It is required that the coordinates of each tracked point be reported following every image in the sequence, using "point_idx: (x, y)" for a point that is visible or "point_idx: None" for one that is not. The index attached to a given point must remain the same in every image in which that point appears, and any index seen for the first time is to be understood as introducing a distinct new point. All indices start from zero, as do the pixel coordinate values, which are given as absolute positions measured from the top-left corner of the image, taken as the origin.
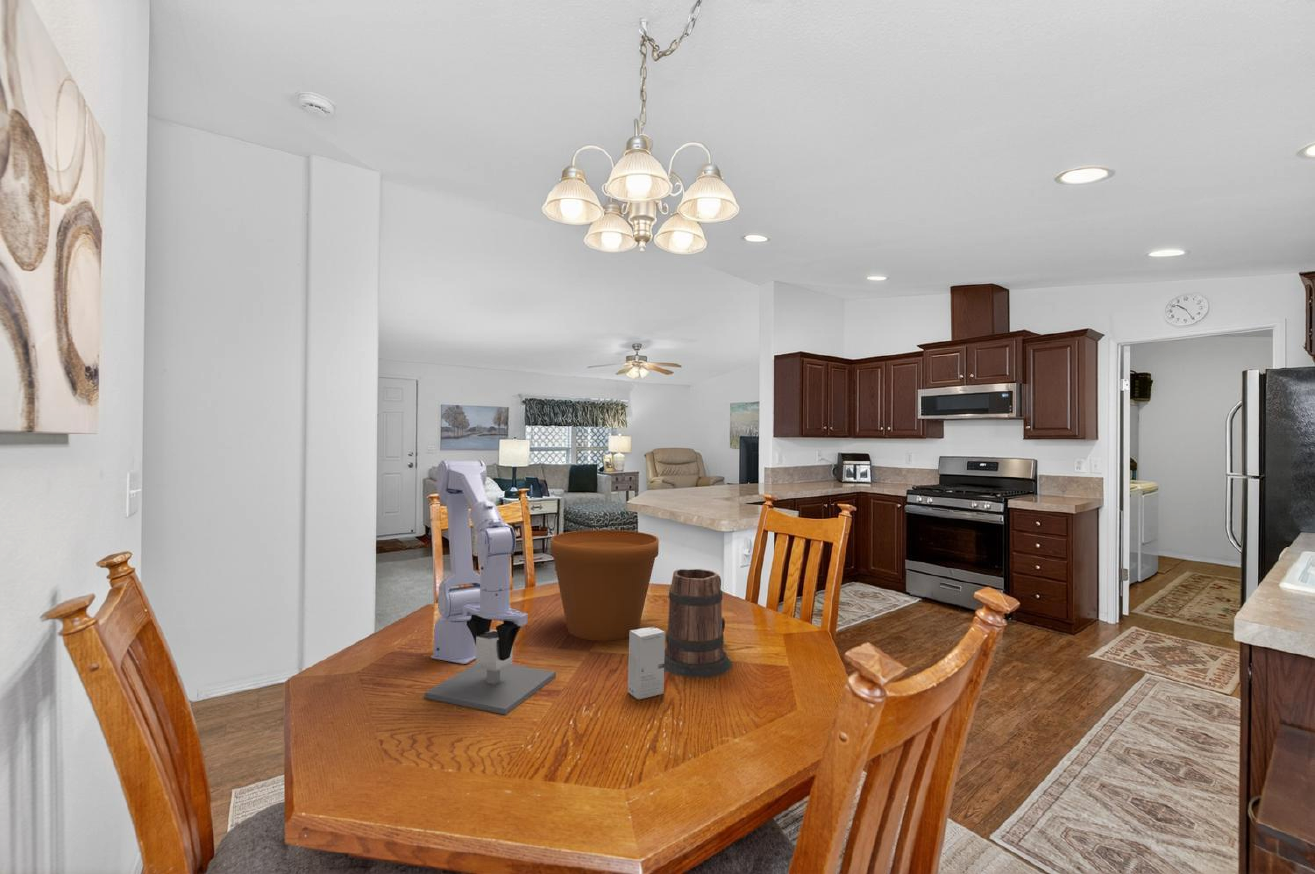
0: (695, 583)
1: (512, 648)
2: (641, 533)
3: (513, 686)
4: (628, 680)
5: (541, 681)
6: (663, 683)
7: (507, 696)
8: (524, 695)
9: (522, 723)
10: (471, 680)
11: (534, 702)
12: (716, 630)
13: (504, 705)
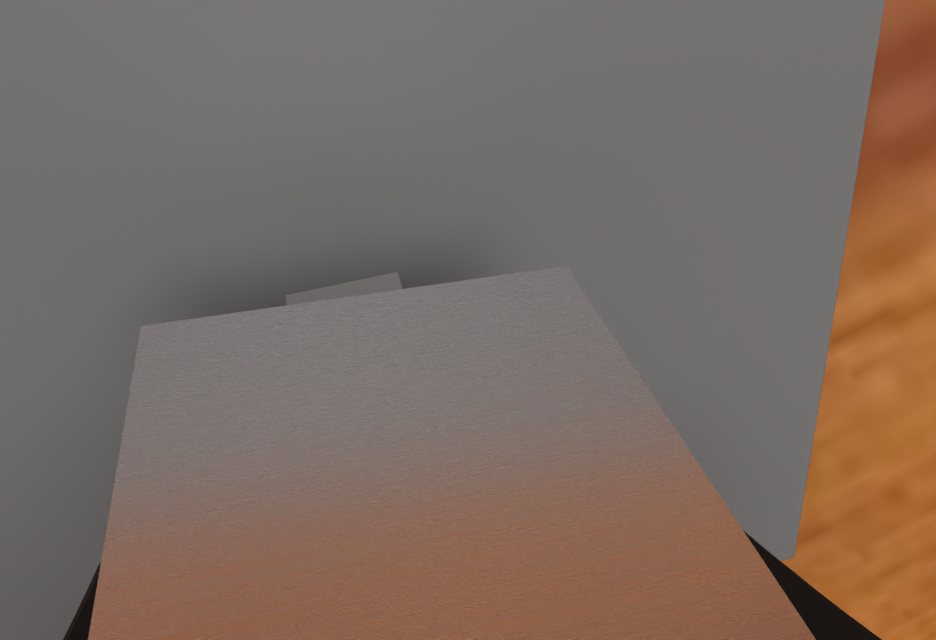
0: None
1: (665, 417)
2: None
3: (631, 285)
4: None
5: (864, 9)
6: None
7: (696, 442)
8: (826, 351)
9: (921, 525)
10: (105, 439)
11: (892, 298)
12: None
13: (756, 534)
